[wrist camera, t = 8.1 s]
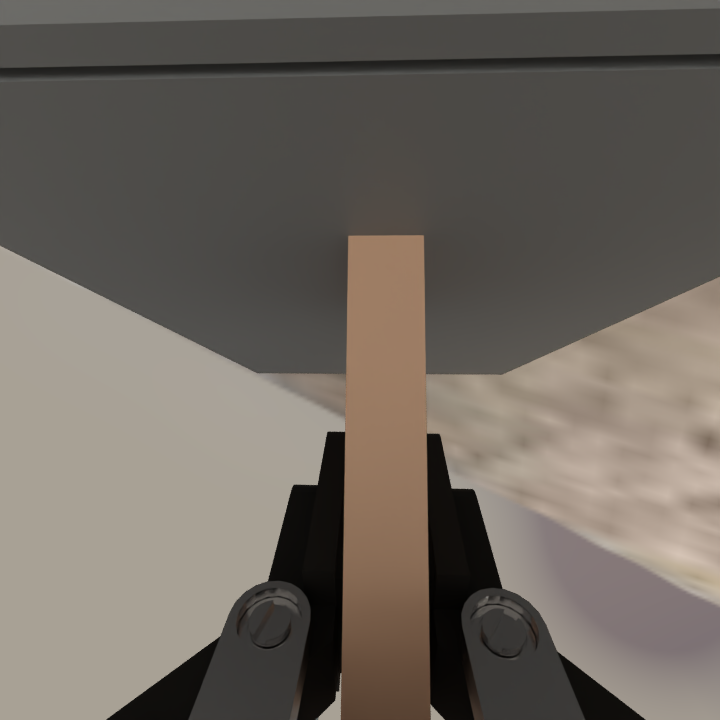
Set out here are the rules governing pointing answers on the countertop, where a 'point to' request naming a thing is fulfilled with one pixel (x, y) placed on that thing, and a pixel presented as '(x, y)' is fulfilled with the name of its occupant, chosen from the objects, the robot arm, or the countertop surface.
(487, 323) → the lid
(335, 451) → the robot arm
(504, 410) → the countertop surface
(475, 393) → the countertop surface
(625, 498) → the countertop surface
